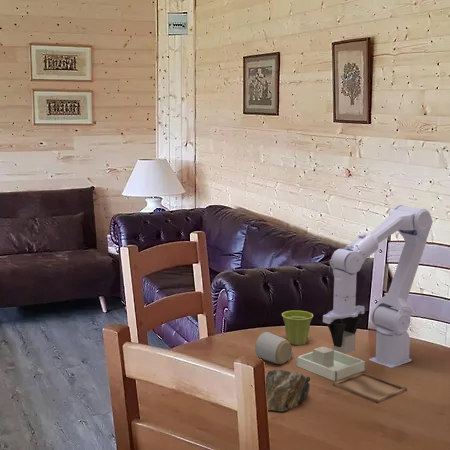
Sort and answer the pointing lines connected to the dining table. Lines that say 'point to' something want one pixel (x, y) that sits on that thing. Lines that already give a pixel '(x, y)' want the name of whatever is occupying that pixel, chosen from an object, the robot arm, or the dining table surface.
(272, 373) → the rock
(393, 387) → the wooden tray
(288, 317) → the plant pot
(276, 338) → the ceramic mug
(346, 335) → the stone
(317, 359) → the stone
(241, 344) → the dining table surface
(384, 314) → the robot arm
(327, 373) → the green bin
